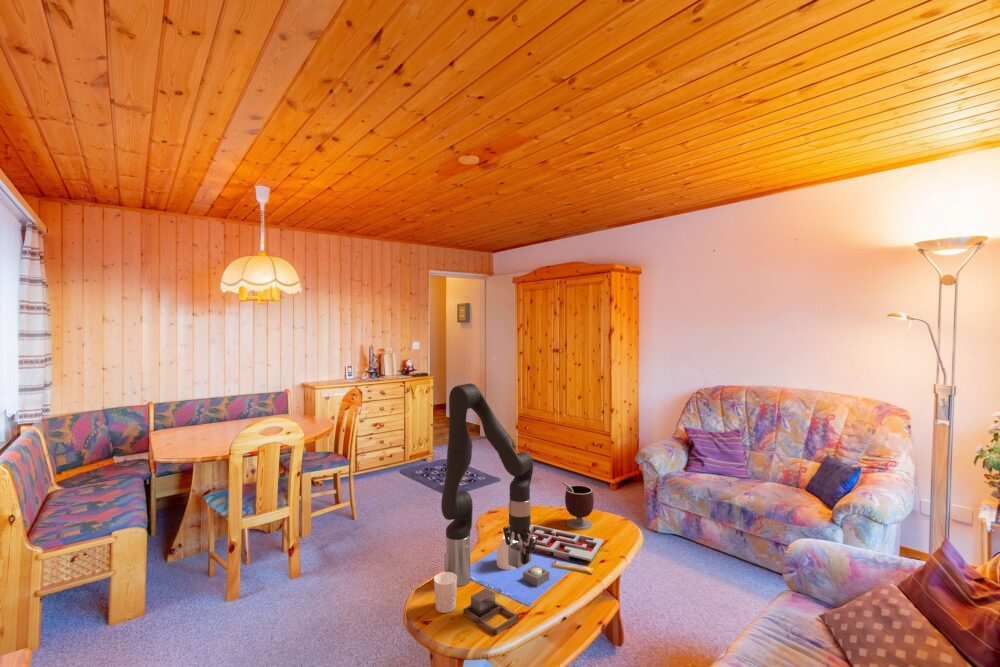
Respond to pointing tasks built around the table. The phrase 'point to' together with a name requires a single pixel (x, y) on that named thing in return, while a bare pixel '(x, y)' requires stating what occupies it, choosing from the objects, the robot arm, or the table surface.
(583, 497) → the mate gourd
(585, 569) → the candy bar
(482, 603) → the seated billet
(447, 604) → the white cup
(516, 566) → the block
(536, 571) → the button
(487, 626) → the frame
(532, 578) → the button housing
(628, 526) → the table surface
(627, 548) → the table surface
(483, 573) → the table surface
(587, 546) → the maze game
